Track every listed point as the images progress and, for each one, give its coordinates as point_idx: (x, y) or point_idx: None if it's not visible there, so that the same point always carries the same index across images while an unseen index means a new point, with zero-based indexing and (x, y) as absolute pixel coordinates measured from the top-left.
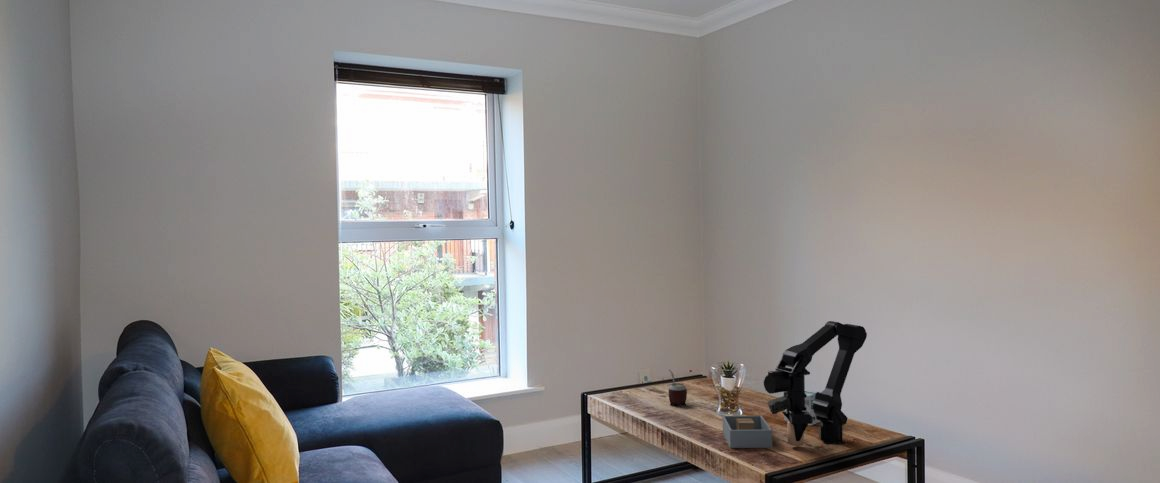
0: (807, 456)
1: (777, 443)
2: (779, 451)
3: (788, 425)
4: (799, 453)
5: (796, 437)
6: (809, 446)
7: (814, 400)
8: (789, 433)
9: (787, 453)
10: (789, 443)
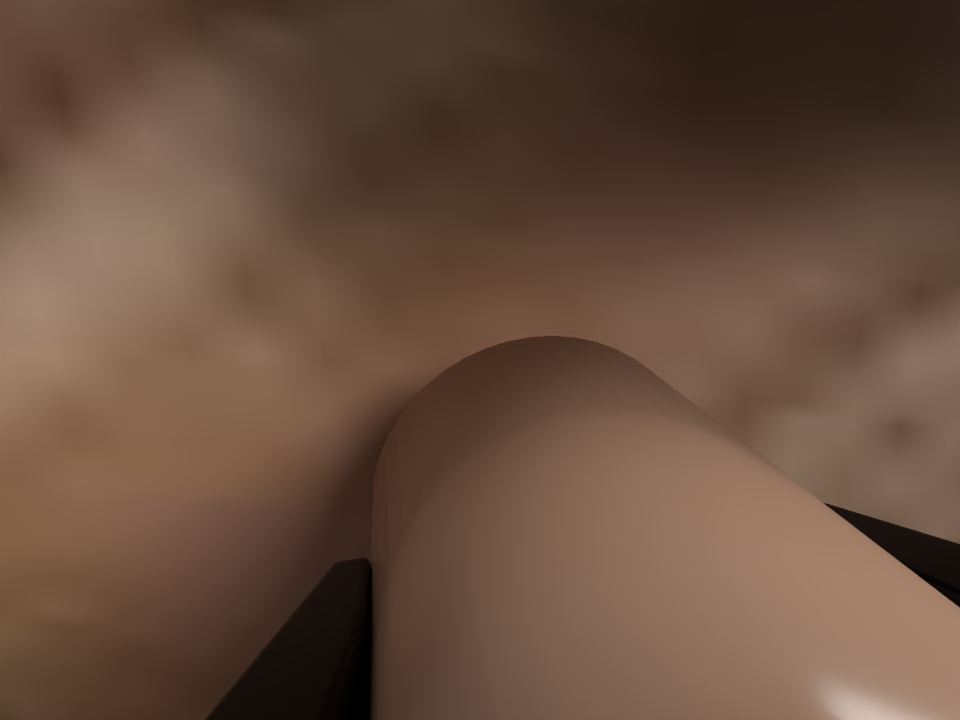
0: (28, 612)
1: (796, 142)
2: (258, 109)
3: (642, 658)
4: (190, 493)
5: (288, 635)
6: None
7: None
8: (495, 487)
9: (142, 268)
10: (452, 373)
